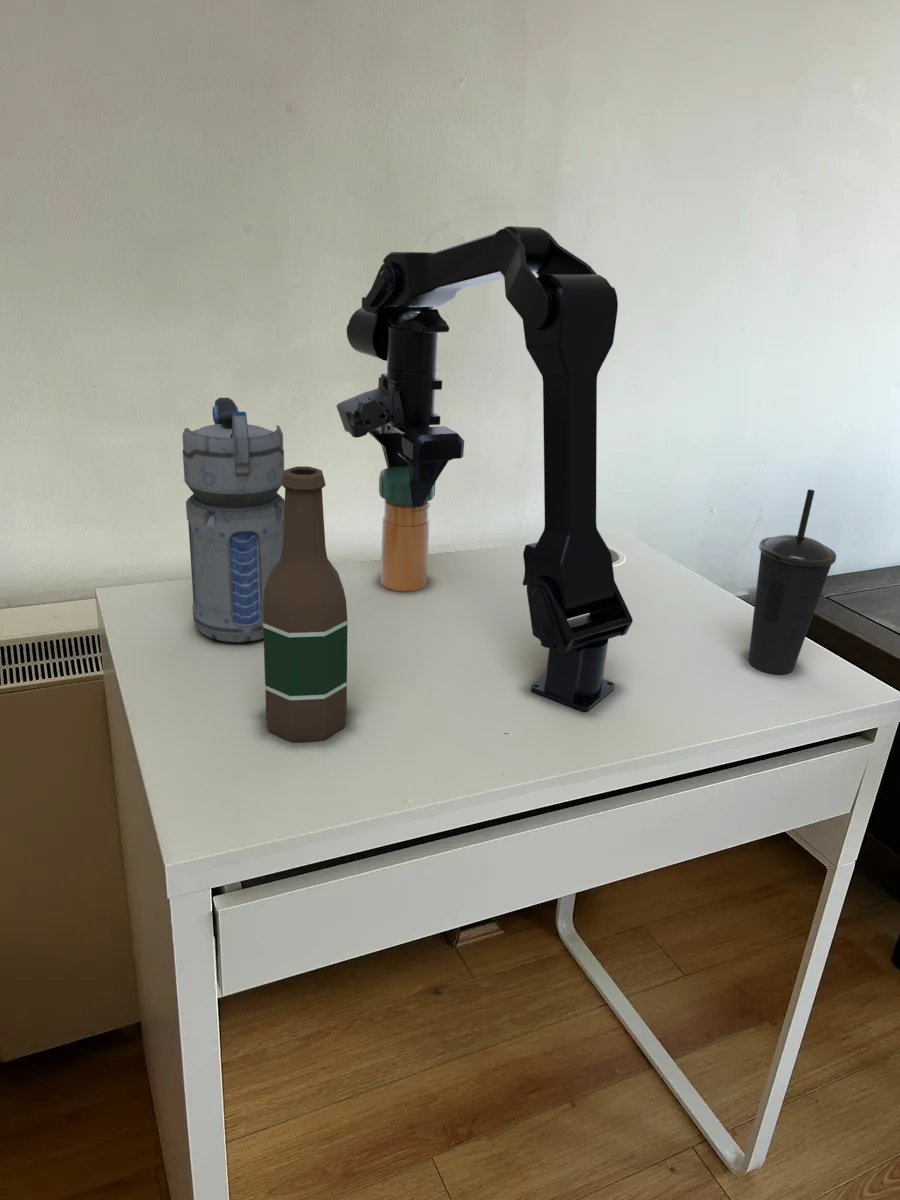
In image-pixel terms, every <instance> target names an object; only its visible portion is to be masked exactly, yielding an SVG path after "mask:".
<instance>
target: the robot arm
mask: <svg viewBox="0 0 900 1200" xmlns="http://www.w3.org/2000/svg"><path fill="white" fill-rule="evenodd" d="M382 262H383V264H381V265H380V268H379V269H378V272H377V274H376V277H375V279H374V281H373V284H372V286H371V288H370V290H369V291H368V293H367V295H366V296H362V297H361V307H359V308H358V309H356V310H355V311H354V313H352V315H351V317H350V319H349V321H348V324H347V325H346V338H347V340H348V343H349V345H350V346H351V348H352V349H353V350H355V352H357V353H360V354H363V355H365V356H369V357H372V358H375V359H378V360H382V361H385V362H386V373H381V374H380V376H379V377H378V384H377V385H378V386H377V388H375V389H374V388H373V389H372V390H368V391H365V392H362V393H360V394H358V395H355V396H351V397H350V398H347V399H345V400H343V401H340V402H338V403H337V404H336V409H337V412H338V415H339V418H340V420H341V423H342V426H343V429H344V431H345V432H347V433H348V434H350V435H351V437H353V438H354V439H355V438H362V437H365V436H366V435H368V434H369V436H371V437H373V438H374V440H376V441H377V443H378V444H380V446H381V450H382V452H383V456H384V461H385V464H386V465H385V466H386V468H390V467H398V466H409V476H410V487H411V497H412V504H413V506H414V507H421V506H422V505H423V504H424V502H425V500H426V498H427V496H428V495H429V493H430V491H431V489H432V487H433V486H434V484H435V485H436V482H437V480H438V479H439V477H440V475H441V474H442V472H443V471H444V469H445V467H446V466H447V465H448V463H449V462H450V461H453V460H456V459H457V460H459V459H463V458H464V455H465V453H464V452H465V451H464V450H465V440H464V439H463V437H462V436H460V434H459V433H458V432H457V431H455V430H453V429H451V428H449V427H448V426H446V425H444V426H442V425H441V415H440V414H437V413H435V406H436V404H435V403H436V390H437V391H439V390H442V389H443V380H442V379H440V378H437V367H438V366H437V365H438V347H439V333H440V334H441V333H448V332H449V331H450V326H449V324H448V322H447V321H446V320H445V319H444V318H443V317H442V316H441V313H440V312H439V310H438V309H437V308H438V307H441V306H443V305H444V304H446V303H448V302H450V301H451V300H453V299H455V298H456V297H457V295H458V293H459V291H460V290H462V289H465V288H468V287H472V286H477V285H480V284H484V283H488V282H492V281H496V280H500V279H503V281H504V294H505V295H504V296H505V298H506V299H507V300H506V301H508V302H509V304H510V305H511V306H512V308H513V309H514V310H515V312H516V313H517V314H518V315H519V317H520V318H521V320H522V326H523V334H524V342H525V347H526V351H527V352H528V354H529V355H530V357H531V359H532V361H533V363H534V364H535V366H536V368H537V370H538V372H539V373H540V374H541V378H542V406H543V407H542V412H543V413H542V415H543V416H542V417H543V421H542V423H543V425H542V426H543V496H544V499H543V501H544V502H543V505H544V528H543V531H542V533H541V535H540V537H539V539H538V541H537V542H533V543H529V544H526V545H525V546H524V549H523V553H522V555H523V557H522V558H523V564H524V575H523V580H522V585H523V586H526V596H527V602H528V603H527V604H528V611H529V617H530V618H529V619H530V624H531V633H532V635H533V637H534V638H536V639H538V640H539V642H540V646H541V647H543V648H545V649H548V652H547V653H548V654H547V663H546V672H545V674H544V675H543V676H542V677H540V678H539V679H537V680H536V681H534V682H533V683H532V684H531V685H530V691H532V692H533V693H536V694H539V695H541V696H544V697H546V698H548V699H551V700H554V701H556V702H559V703H561V704H564V705H567V706H570V707H572V708H574V709H577V710H580V711H583V712H587V711H590V709H592V708H593V707H594V706H595V705H596V704H598V703H599V702H600V701H601V700H602V699H603V698H605V697H606V696H607V695H608V694H609V693H611V692H612V691H613V690H614V689H615V687H616V686H615V685H616V684H615V683H614V682H613V681H610V680H607V679H605V678H604V674H605V666H606V659H607V653H608V645H609V639H610V640H611V639H613V638H616V637H621V636H625V635H627V633H628V632H629V630H630V628H631V626H632V624H633V622H634V621H633V620H634V619H633V617H632V615H631V613H630V611H629V609H628V606H627V604H626V602H625V600H624V598H623V596H622V594H621V592H620V589H619V587H618V584H617V583H616V580H615V573H614V566H613V565H614V564H613V557H612V552H611V550H610V548H609V547H608V545H607V543H606V542H605V540H604V538H603V537H602V535H601V533H600V531H599V530H598V527H597V525H598V524H597V461H598V460H597V458H598V457H597V453H598V451H597V450H598V447H597V439H598V438H597V437H598V436H597V435H598V433H597V431H598V430H597V429H598V425H597V424H598V422H597V421H598V419H597V417H598V416H597V415H598V403H597V402H598V375H599V372H600V370H601V368H602V367H603V364H604V363H605V361H606V358H607V357H608V354H609V353H610V351H611V349H612V347H613V345H614V339H615V332H616V326H617V324H616V323H617V317H618V307H619V302H618V295H617V291H616V288H615V287H614V286H612V285H611V283H610V282H609V281H608V279H606V278H605V277H604V276H602V275H600V274H597V272H596V271H595V270H594V269H593V268H592V266H591V265H590V264H588V263H587V262H585V261H584V260H583V259H581V258H580V257H579V256H577V255H575V254H574V253H572V252H571V251H569V250H568V249H566V248H565V247H562V246H561V245H560V244H559V242H557V240H556V239H555V238H554V237H553V236H552V235H551V233H549V232H548V231H546V230H545V229H543V228H541V227H538V226H537V227H535V226H513V225H510V226H505V227H503V228H501V229H498V231H496V232H493V233H491V234H488V235H484V236H481V237H478V238H476V239H475V238H474V239H472V240H468V241H465V242H462V243H458V244H456V245H453V246H450V247H447V248H444V249H441V250H438V251H435V252H431V251H429V252H421V251H419V252H418V251H391V252H389V253H388V254H386V256H385V257H384V258H383V259H382ZM534 273H536V274H537V276H536V275H535V274H534ZM435 307H437V308H435ZM440 425H441V426H440Z"/></svg>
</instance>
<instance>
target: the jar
mask: <svg viewBox="0 0 900 1200" xmlns="http://www.w3.org/2000/svg"><path fill="white" fill-rule="evenodd" d="M429 508H430V501H427V502H424V504H423V505H422V506H421V507H414V506H413V504H405V503H396V502H391V501H388V500H385V499H384V511H383V513H384V514H383V517H382V523H381V525H382V526H381V527H382V528H381V561H380V584H381V586H383V587H385V588H386V589H389V590H392V591H396V592H415V591H418V590H421V589H423V588H425V587H426V585H427V581H428V580H427V578H428V577H427V576H428V560H429V559H428V558H429V539H430V538H429V537H430V519H429Z"/></svg>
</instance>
